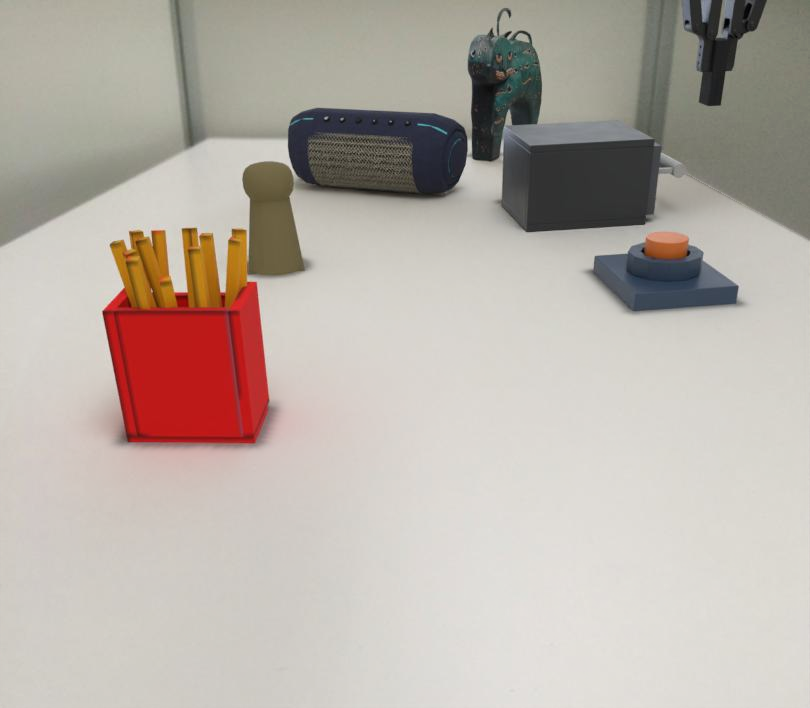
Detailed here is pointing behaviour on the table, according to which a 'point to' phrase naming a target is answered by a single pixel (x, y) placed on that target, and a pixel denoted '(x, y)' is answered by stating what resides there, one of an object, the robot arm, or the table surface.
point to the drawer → (661, 166)
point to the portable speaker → (377, 150)
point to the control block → (664, 280)
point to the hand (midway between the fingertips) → (709, 103)
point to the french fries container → (187, 343)
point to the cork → (271, 220)
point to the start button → (666, 245)
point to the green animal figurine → (501, 87)
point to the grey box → (576, 175)
